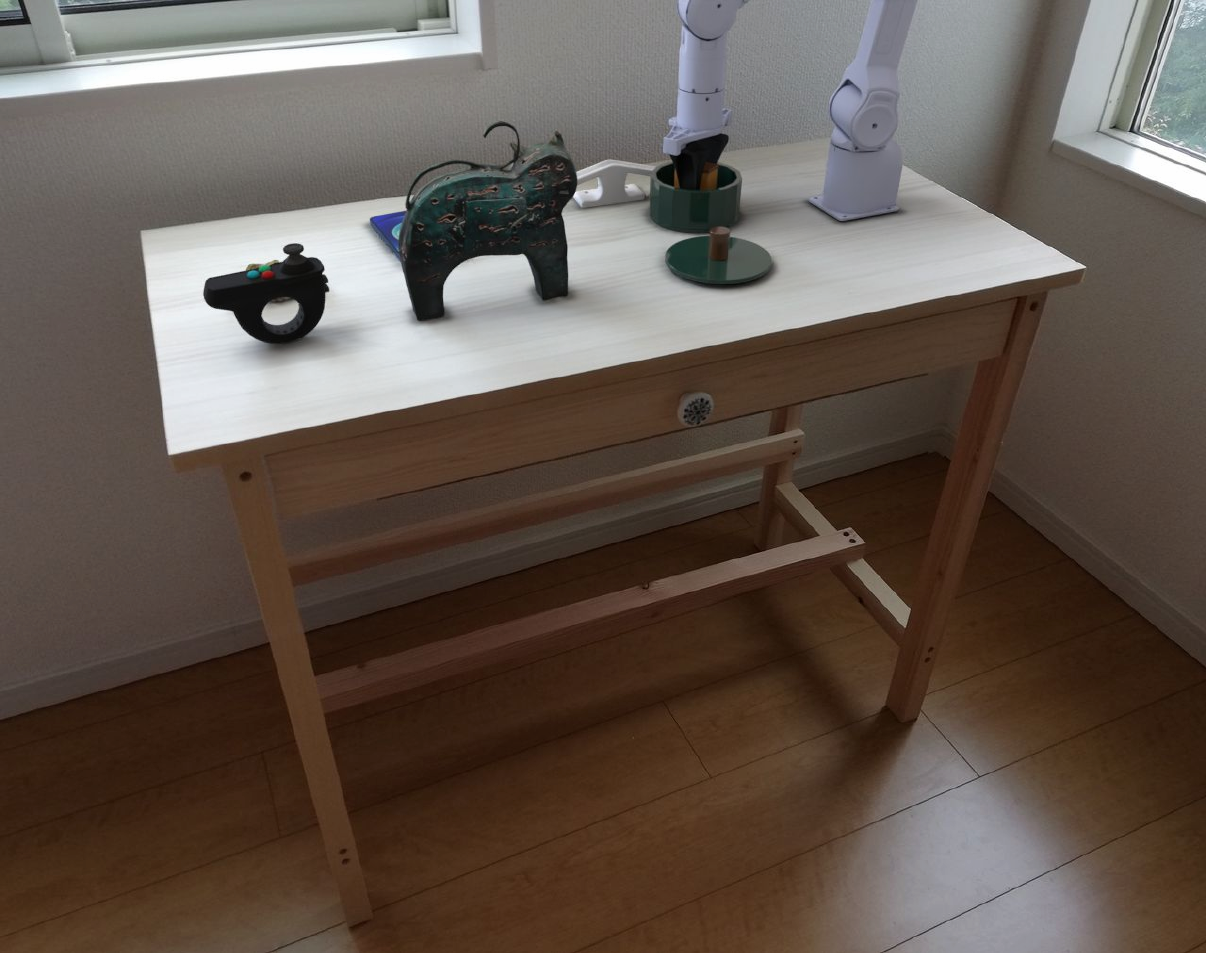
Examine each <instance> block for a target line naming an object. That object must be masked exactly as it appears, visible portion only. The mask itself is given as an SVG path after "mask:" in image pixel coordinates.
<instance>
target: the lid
mask: <svg viewBox="0 0 1206 953" xmlns="http://www.w3.org/2000/svg"><path fill="white" fill-rule="evenodd" d="M772 260H773V259H772V256H771V254H770V253H769V251H768V250H767V249H766V248H764V247H763V246H761V245H760V244H758V243H755V242H753V241H750V240H747V239H745V238H744V239H743V238H740V237H735V236H731V230H730V228H729V227H728V228H726V227H713V228H711V229H710V232H709V235H700V236H693V237H688V238H685V239H681V240H679V241H677V242H675V243H674V244H672V245H670V246H669V247H668V248H667V250H666V252H665V254H664V261H665V264H666V266H667V268H668V269H669V270H671V272H673V273H675V274H676V275H678V276H680V277H682V278H685V279H688V280H690V281H693V282H699V283H704V284H714V285H734V284H741V283H747V282H750V281H753V280H756V279H759V278H761V277H762V276H764V275H766V274H767V273H768V272H769V271H770V270H771V267H772Z"/></svg>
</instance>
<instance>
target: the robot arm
mask: <svg viewBox="0 0 1206 953" xmlns="http://www.w3.org/2000/svg"><path fill="white" fill-rule="evenodd" d="M749 1H750V0H678V1H677V2H676V4H675V6H676V13H677V15H678V18H679V19H680V20H681V22H682V23H683V24H682V25H681V34H680V46H679V56H678V59H679V60H678V62H679V63H678V80H677V82H678V83H677V87H678V88H677V103H676V104H677V105H676V106H677V107H676V116H673V117H671V118H669V119H668V125H669V126H671V129H670V131H669V132H668V134H666V136H664V137H663V143H662V145H663V146H662V153H663V154H665V155H666V154H667V155H668V156H669V158H670V160H671V162H673V164H674V167H675V170H676V174H677V178H678V183H679V188H681V189H688V190H700V184H701V178H702V173H703V169H704V166H705V163H706V162H710V163H715V164H717V162H719V160H720V158H721V156H722V154H723V151H724V150H725V148H726V146H727V145H728V143H729V139H730V136H729V135H728V134H726V133H722V132H723V131H724V128H725V127H729V126H731V125H732V117H733V116H732V115H733V110H732V109H729V108H724V98H725V82H726V68H727V54H728V49H727V40H728V32H729V31H731V29H732V28H733V26H734V24H735V22H736V18H737V12H738V11H739V9H742V8H743V7H744V6H745V5H746V4H748V3H749ZM917 3H918V0H871V1H870V4H869V8H868V11H867V15H866V18H865V21H864V22H865V23H864V25H863V26H864V27H863V30H862V33H861V37H860V41H859V45H858V47H857V51H856V54H855V58H854V60H853V61H852V62H851V63H850V64H849V65H848V66H847V67H846V69H845V70H844V72H843V76H842V80H841V81H840V83H839V85H838V87H837V88H836V89H835V90H834V91H833V93H832V95H831V96H830V99H829V101H828V115H829V117H830V120H831V121H832V122H833V124H834V129H833V131H832V133H831V135H830V139H829V140H830V141H829V148H828V154H827V162H826V169H825V170H826V171H825V177H824V185H823V192H822V195H816V196H810V197H809V198H808V202H809V203H811V204H812V205H813V206H816V208H819V209H820V210H821V211H823V212H824V213H826V214H828V215H829V216H831V217H833V218H834V219H836V220H837V221H839V222H846V221H852V220H857V219H861V218H867V217H872V216H873V217H874V216H877V215H884V214H889V213H895V212H898V211H899V209H900V208H899V206H898V205H896V203H897V198H898V192H899V188H900V181H901V176H902V171H903V164H904V157H903V151H902V148H901V146H900V144H899V143H898V141H897V140H895V139H894V138H893V137H894V135H895V133H896V131H897V130H898V126H899V114H898V102H899V98H900V96H901V89H900V81H899V75H898V67H899V64H900V61H901V57H902V55H903V54H902V53H903V51H904V47H905V44H906V40H907V37H908V35H909V34H908V33H909V30H910V27H911V23H912V20H913V16H914V14H915V11H916V8H917Z"/></svg>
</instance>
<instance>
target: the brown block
mask: <svg viewBox="0 0 1206 953" xmlns="http://www.w3.org/2000/svg"><path fill="white" fill-rule="evenodd" d="M718 168H719V164H715V163H710V162H706V163H705V166H704V169H703V173H702V178H701V184H700V190H711V189H716V187H717V173H718ZM674 187H675V188H679V183H678V178H677V174H676V170H675V179H674Z"/></svg>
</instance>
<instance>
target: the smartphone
mask: <svg viewBox="0 0 1206 953" xmlns="http://www.w3.org/2000/svg"><path fill="white" fill-rule="evenodd" d="M405 212H406V210H402V211H394V212H390V213H384V214H380V215H374V216H372V217H370V218H369V224H370V226H371V227H372V229H373V230H374V231H375V232H376V234H377V235H378V236H379V237H380V239H381V240H382V241H383V242H384V244H385V245H386V246H387V247H388V248H389V249H390V251H391V252H392V253H393V254H394V255H395V257H396V258H397V259H398V261H400V263H401V259H400V255H399V250H398V239H399V232H400V227H401V224H402V222H403V219H404V216H405Z"/></svg>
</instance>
